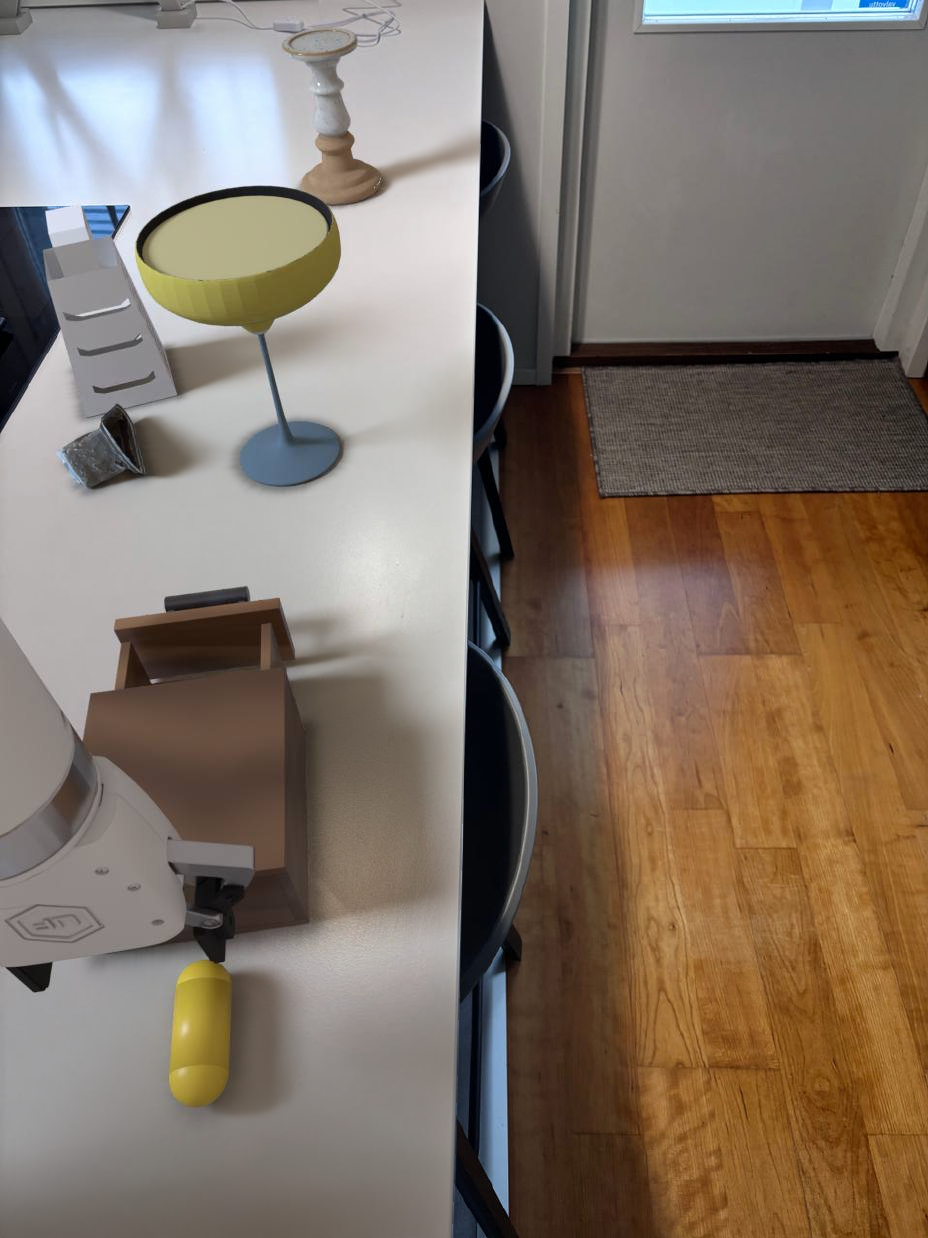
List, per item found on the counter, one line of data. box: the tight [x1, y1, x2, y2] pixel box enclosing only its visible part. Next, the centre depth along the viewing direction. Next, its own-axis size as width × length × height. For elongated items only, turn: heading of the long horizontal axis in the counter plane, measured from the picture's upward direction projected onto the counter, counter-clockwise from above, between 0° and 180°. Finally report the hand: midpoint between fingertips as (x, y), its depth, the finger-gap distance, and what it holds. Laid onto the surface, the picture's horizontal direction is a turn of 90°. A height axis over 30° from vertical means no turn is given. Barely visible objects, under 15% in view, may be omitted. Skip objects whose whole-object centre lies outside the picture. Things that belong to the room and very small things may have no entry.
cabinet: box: [82, 666, 310, 951], centre depth 69 cm, size 17×15×9 cm
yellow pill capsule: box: [168, 958, 233, 1108], centre depth 61 cm, size 9×4×4 cm, turn 7°
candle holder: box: [281, 27, 382, 206], centre depth 137 cm, size 12×12×20 cm
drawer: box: [113, 585, 296, 690], centre depth 76 cm, size 20×13×7 cm
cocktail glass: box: [134, 185, 342, 487], centre depth 93 cm, size 18×18×25 cm
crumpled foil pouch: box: [56, 403, 146, 489], centre depth 102 cm, size 10×7×12 cm
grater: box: [42, 203, 178, 419], centre depth 106 cm, size 10×10×20 cm
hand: (133, 951), depth 53 cm, fingers open, 9 cm apart
